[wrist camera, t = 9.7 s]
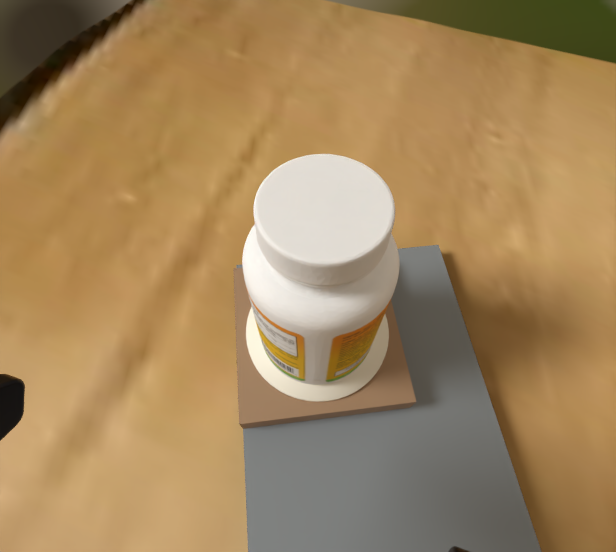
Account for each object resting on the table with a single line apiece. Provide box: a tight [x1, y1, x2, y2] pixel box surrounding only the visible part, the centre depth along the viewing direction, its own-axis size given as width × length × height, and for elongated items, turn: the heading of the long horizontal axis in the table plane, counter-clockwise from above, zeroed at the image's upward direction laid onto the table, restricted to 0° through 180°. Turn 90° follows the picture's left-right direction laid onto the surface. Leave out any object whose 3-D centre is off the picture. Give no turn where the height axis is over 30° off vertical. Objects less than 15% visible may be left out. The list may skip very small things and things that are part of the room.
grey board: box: [234, 245, 542, 552], centre depth 20 cm, size 16×12×2 cm
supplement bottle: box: [242, 154, 400, 385], centre depth 15 cm, size 5×5×10 cm
